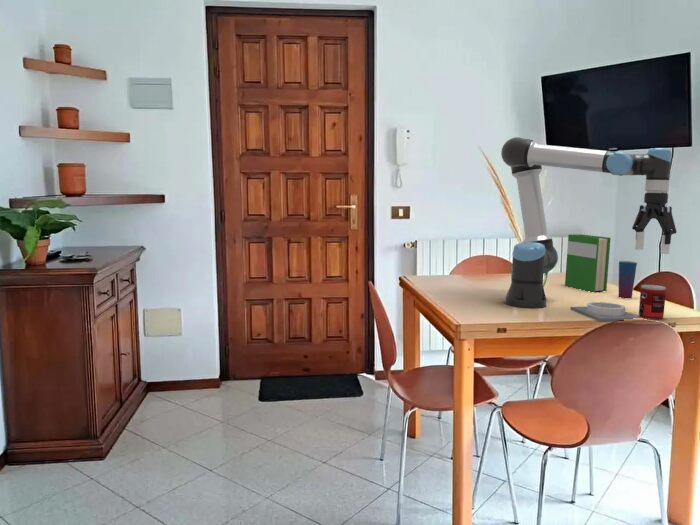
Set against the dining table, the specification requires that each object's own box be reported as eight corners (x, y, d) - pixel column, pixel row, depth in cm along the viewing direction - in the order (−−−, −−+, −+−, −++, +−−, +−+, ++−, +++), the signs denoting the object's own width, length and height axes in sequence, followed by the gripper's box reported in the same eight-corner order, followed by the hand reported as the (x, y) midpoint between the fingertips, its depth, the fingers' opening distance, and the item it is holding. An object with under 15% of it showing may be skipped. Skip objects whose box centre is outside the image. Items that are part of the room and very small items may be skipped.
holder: (600, 321, 204) (601, 311, 204) (570, 309, 224) (571, 300, 223) (643, 320, 207) (644, 310, 206) (610, 309, 226) (610, 299, 226)
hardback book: (606, 292, 265) (610, 237, 262) (593, 292, 262) (597, 237, 259) (577, 285, 281) (581, 234, 278) (564, 286, 278) (568, 234, 275)
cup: (635, 299, 248) (638, 263, 246) (618, 298, 249) (621, 262, 247) (631, 296, 255) (634, 261, 253) (614, 295, 256) (617, 260, 254)
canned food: (641, 313, 219) (644, 283, 218) (665, 317, 214) (668, 286, 213) (635, 316, 213) (638, 286, 212) (660, 320, 208) (663, 289, 207)
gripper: (691, 192, 203) (685, 255, 205) (642, 192, 227) (638, 248, 230) (671, 192, 201) (666, 255, 204) (625, 191, 226) (620, 248, 228)
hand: (651, 251), depth 217 cm, fingers open, 13 cm apart
